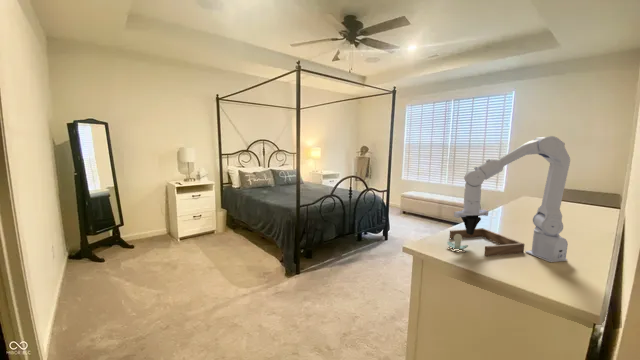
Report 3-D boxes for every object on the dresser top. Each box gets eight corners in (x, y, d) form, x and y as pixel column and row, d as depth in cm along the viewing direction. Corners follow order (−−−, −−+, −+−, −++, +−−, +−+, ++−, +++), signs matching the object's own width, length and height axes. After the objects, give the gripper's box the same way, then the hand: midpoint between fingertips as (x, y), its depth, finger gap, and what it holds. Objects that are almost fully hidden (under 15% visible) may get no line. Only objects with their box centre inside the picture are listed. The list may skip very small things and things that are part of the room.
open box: (523, 252, 105) (524, 243, 104) (486, 256, 101) (487, 247, 100) (481, 235, 124) (482, 228, 123) (449, 238, 120) (449, 230, 120)
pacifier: (465, 255, 102) (468, 250, 107) (466, 239, 102) (469, 234, 106) (444, 250, 107) (448, 245, 112) (445, 235, 106) (449, 231, 111)
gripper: (479, 197, 114) (477, 229, 115) (449, 199, 110) (447, 232, 112) (493, 201, 107) (491, 234, 109) (462, 203, 104) (459, 237, 105)
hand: (469, 233), depth 110 cm, fingers closed
